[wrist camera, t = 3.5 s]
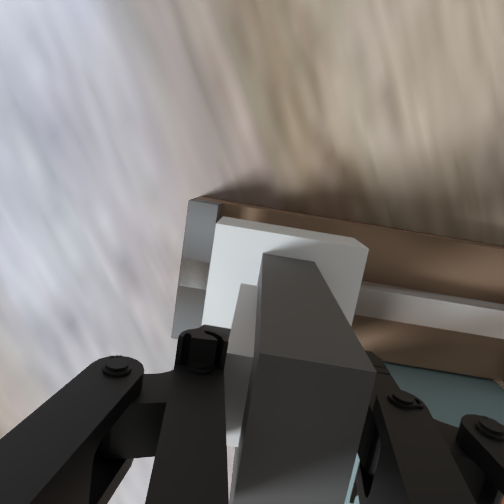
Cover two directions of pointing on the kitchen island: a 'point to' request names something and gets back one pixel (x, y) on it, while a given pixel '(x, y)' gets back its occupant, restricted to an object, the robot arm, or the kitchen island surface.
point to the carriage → (294, 359)
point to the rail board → (417, 273)
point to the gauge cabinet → (445, 397)
